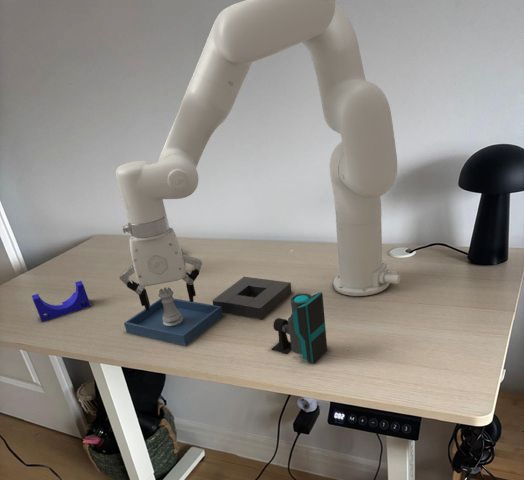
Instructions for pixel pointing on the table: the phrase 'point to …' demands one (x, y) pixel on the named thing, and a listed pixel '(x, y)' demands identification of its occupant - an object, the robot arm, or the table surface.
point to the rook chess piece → (169, 308)
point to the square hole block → (258, 307)
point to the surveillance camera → (303, 328)
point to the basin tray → (191, 327)
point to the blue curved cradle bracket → (70, 305)
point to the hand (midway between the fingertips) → (170, 303)
